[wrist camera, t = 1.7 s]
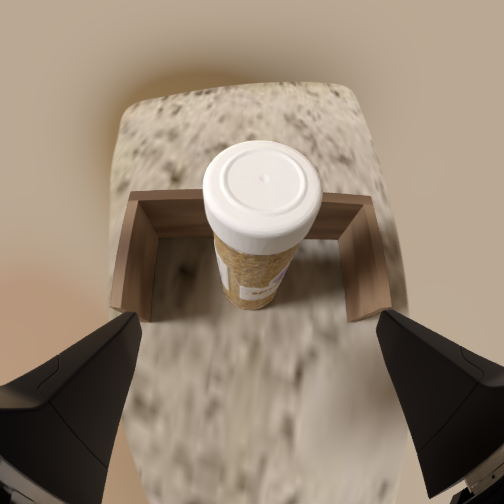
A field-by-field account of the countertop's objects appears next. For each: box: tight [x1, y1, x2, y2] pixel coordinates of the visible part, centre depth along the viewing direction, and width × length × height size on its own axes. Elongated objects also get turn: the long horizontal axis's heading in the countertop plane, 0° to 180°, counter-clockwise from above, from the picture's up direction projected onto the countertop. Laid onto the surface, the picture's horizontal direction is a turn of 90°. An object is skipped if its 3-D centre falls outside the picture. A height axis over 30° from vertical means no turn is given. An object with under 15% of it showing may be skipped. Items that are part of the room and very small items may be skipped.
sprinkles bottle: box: [203, 140, 323, 310], centre depth 16 cm, size 5×5×14 cm
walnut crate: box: [110, 189, 392, 323], centre depth 19 cm, size 8×18×6 cm, turn 90°
